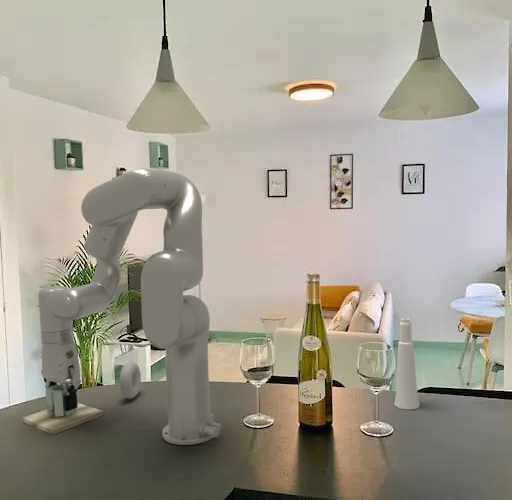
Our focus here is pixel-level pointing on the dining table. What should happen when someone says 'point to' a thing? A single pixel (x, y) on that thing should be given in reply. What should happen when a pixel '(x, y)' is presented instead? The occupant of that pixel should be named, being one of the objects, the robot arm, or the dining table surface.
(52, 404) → the collar
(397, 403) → the cosmetic bottle
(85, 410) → the post base
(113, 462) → the dining table surface
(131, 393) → the donut
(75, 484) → the dining table surface
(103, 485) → the dining table surface
